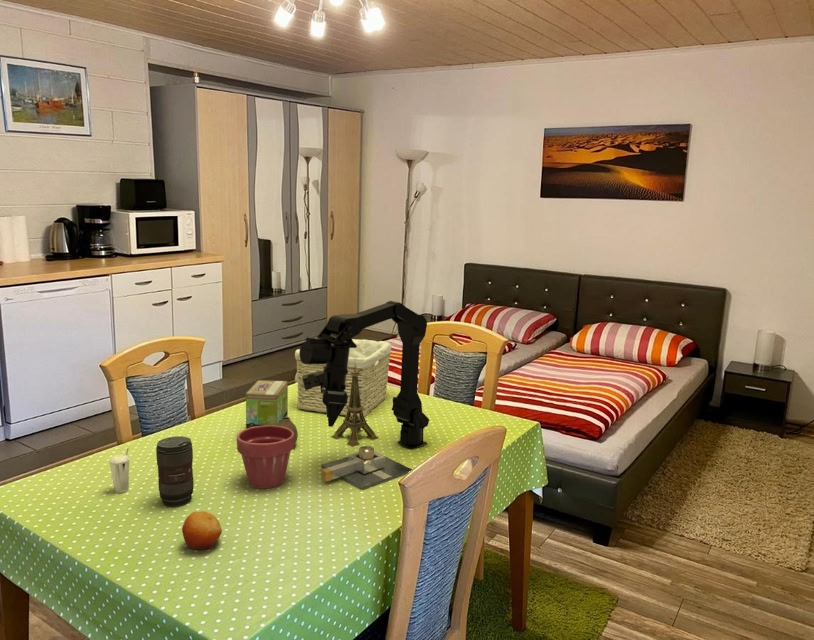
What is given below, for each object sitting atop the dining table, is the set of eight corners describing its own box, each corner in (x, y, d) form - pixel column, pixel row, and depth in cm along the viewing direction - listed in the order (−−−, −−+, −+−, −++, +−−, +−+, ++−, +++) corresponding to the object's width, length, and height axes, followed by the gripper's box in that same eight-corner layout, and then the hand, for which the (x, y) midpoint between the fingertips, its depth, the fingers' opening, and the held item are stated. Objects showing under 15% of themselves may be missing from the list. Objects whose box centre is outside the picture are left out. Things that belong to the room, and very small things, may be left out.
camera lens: (201, 495, 159) (199, 437, 156) (181, 510, 151) (178, 449, 149) (173, 490, 161) (170, 433, 158) (151, 505, 154) (148, 445, 151)
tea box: (278, 441, 195) (277, 393, 192) (245, 440, 195) (243, 393, 192) (288, 424, 210) (287, 379, 207) (257, 423, 210) (256, 379, 207)
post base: (370, 452, 188) (370, 432, 186) (412, 472, 174) (412, 451, 173) (321, 467, 176) (321, 446, 175) (361, 490, 163) (362, 467, 162)
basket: (393, 397, 239) (394, 340, 235) (367, 421, 214) (367, 356, 210) (325, 390, 247) (325, 334, 243) (293, 411, 222) (292, 349, 218)
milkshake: (137, 486, 163) (135, 449, 161) (122, 495, 158) (119, 457, 156) (123, 483, 164) (120, 446, 163) (107, 492, 160) (104, 454, 158)
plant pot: (286, 466, 177) (286, 421, 175) (301, 486, 165) (300, 439, 162) (233, 474, 171) (231, 428, 169) (244, 497, 158) (242, 447, 156)
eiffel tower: (330, 437, 199) (330, 358, 194) (357, 429, 206) (357, 352, 201) (352, 447, 191) (352, 364, 187) (379, 438, 199) (380, 359, 194)
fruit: (178, 529, 140) (197, 499, 139) (211, 545, 141) (230, 516, 140) (168, 549, 132) (187, 517, 131) (203, 566, 133) (222, 535, 133)
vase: (292, 452, 187) (292, 423, 185) (270, 449, 188) (269, 421, 186) (301, 443, 193) (300, 415, 192) (279, 441, 195) (278, 413, 193)
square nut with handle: (368, 458, 180) (368, 448, 180) (385, 466, 175) (385, 456, 174) (316, 475, 169) (315, 465, 168) (332, 484, 164) (332, 474, 163)
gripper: (305, 355, 178) (298, 410, 180) (306, 366, 160) (299, 428, 161) (345, 359, 180) (339, 414, 182) (351, 371, 162) (343, 432, 163)
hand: (329, 421), depth 172 cm, fingers open, 9 cm apart
